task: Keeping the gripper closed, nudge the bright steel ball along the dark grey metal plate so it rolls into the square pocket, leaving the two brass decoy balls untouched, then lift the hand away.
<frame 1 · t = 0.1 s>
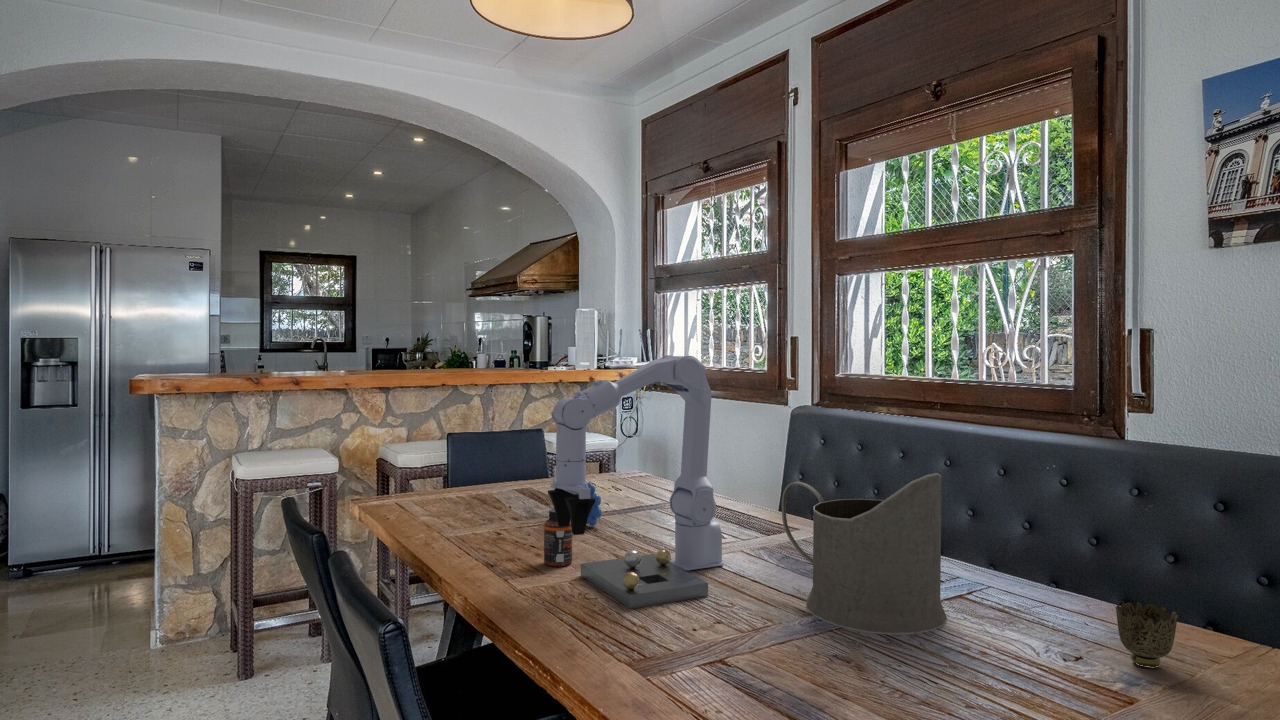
hand: (570, 529, 147), 10 cm above the table, tool pointing down, fingers open, 7 cm apart
supplement bottle: (558, 564, 160), on the table
decoy b: (631, 580, 135), point 4 cm above the table, touching plate
steel ball: (632, 558, 149), point 4 cm above the table, touching plate
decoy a: (663, 557, 151), point 4 cm above the table, touching plate
grapes: (582, 526, 195), on the table
pitcher: (853, 605, 135), on the table
cup: (1145, 666, 109), on the table
plate: (641, 585, 145), on the table
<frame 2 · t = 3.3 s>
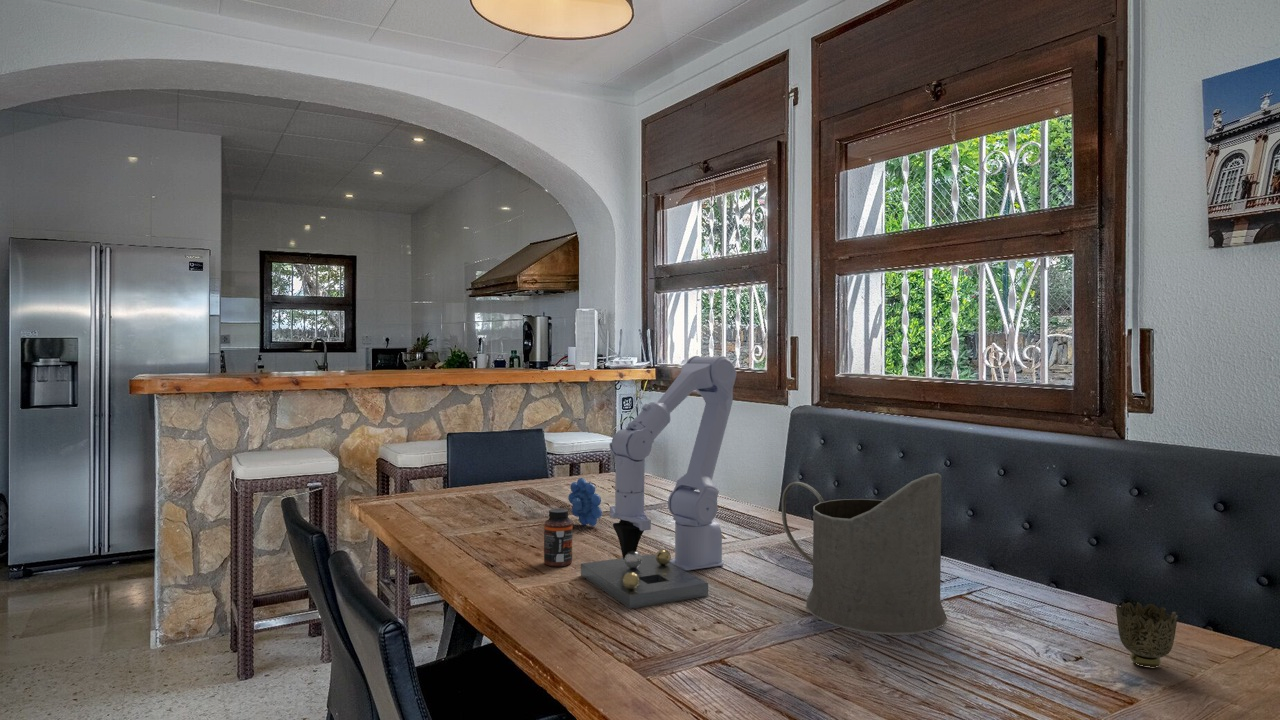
hand: (628, 559, 150), 4 cm above the table, tool pointing down, fingers closed, pressing on steel ball
steel ball: (633, 559, 149), point 4 cm above the table, tilted 15°, touching gripper, plate
everything else where it was.
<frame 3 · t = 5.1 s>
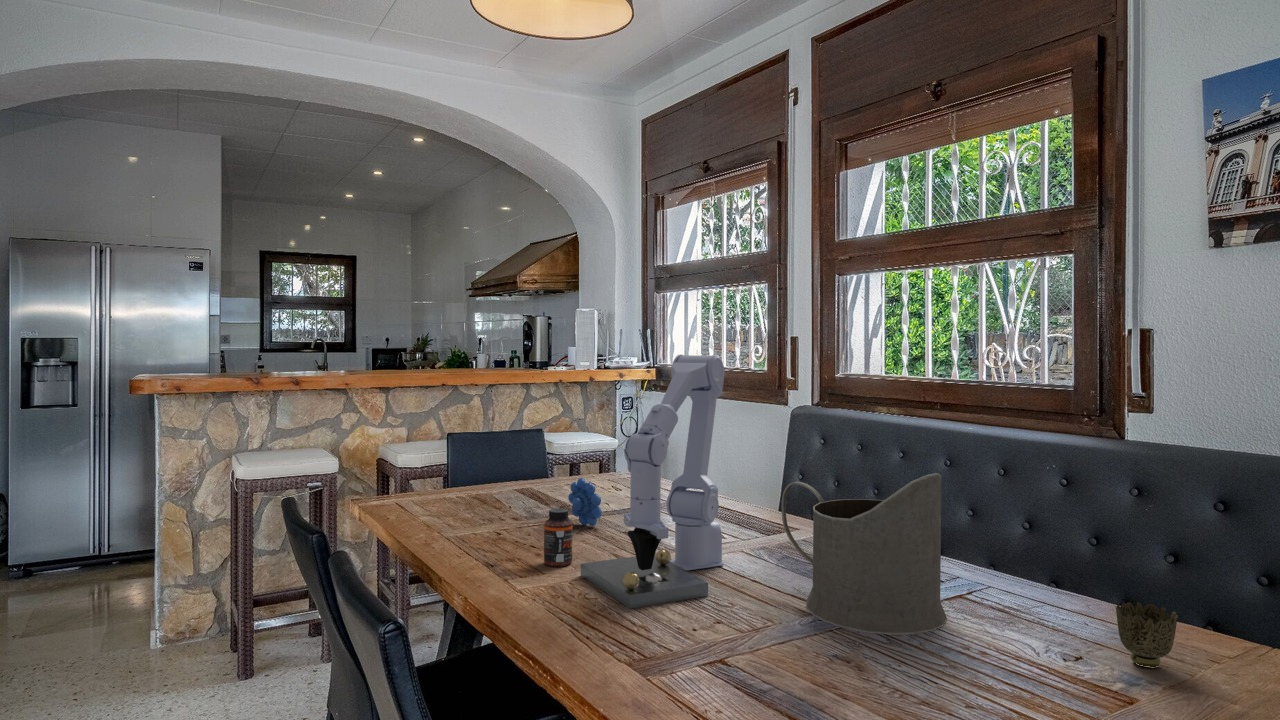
hand: (645, 568, 144), 4 cm above the table, tool pointing down, fingers closed
steel ball: (653, 581, 142), point 2 cm above the table, tilted 9°
everything else where it was.
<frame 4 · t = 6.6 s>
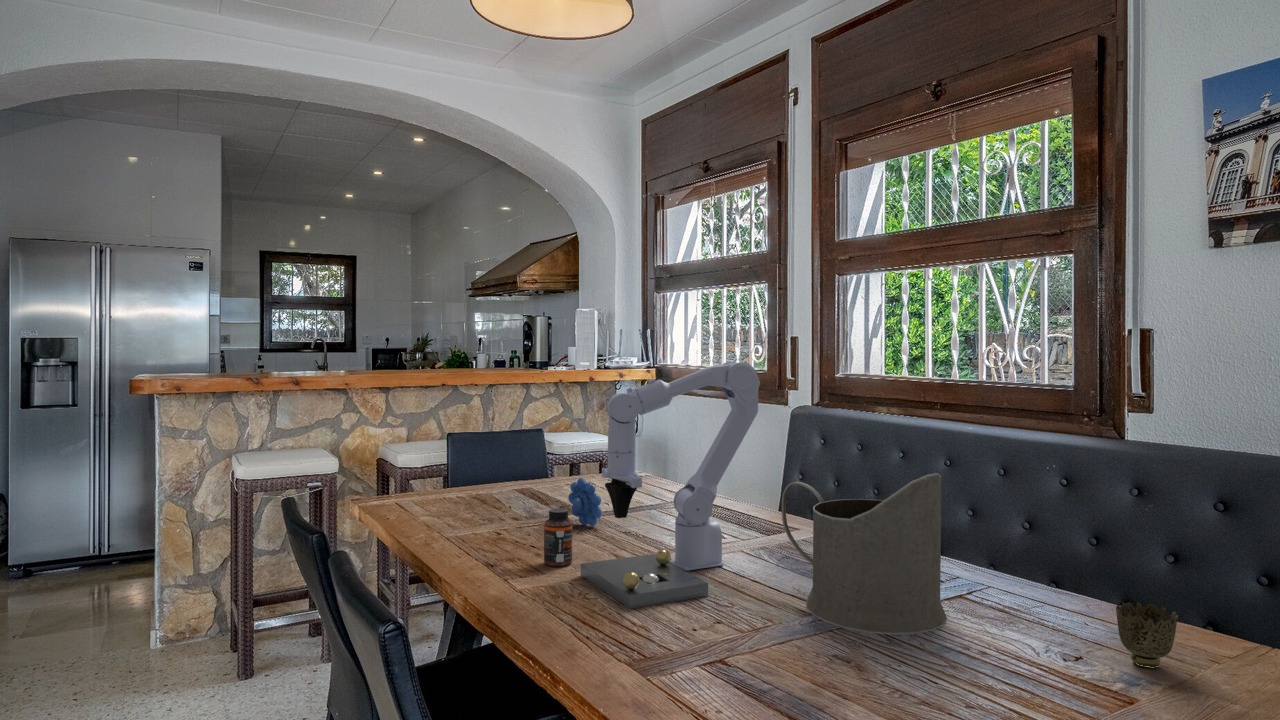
hand: (620, 517, 157), 10 cm above the table, tool pointing down, fingers closed
nothing on the table moved.
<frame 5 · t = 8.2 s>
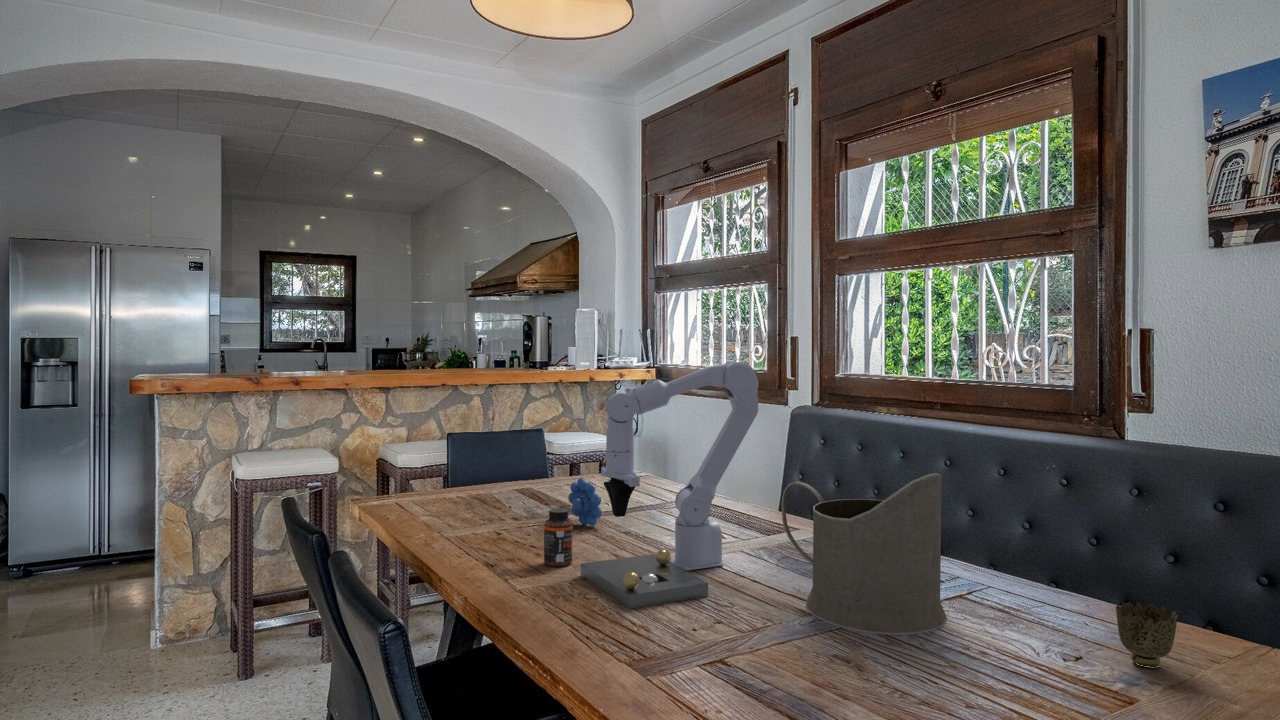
hand: (619, 515, 159), 10 cm above the table, tool pointing down, fingers closed
steel ball: (649, 582, 142), point 2 cm above the table, tilted 20°
everything else where it was.
at the end: steel ball 0.6 cm from the target spot on the plate, point 1.7 cm above the plate's base; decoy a moved 0.1 cm from its start; decoy b moved 0.1 cm from its start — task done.
